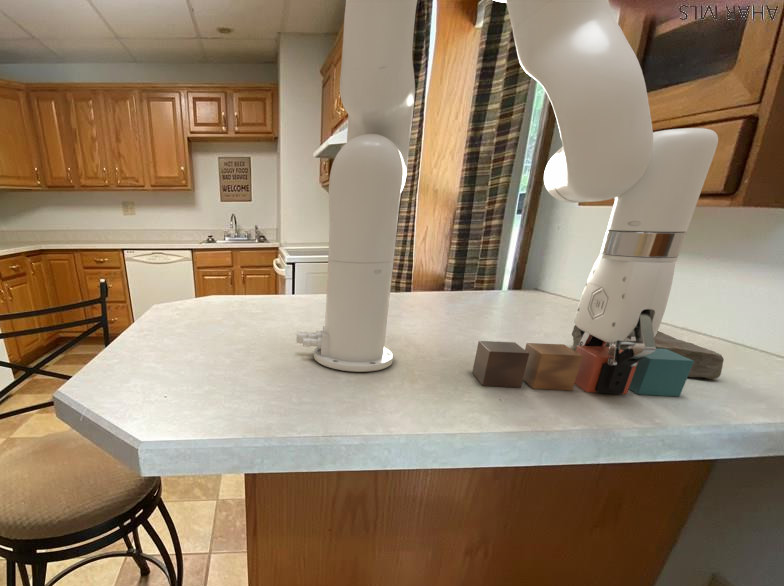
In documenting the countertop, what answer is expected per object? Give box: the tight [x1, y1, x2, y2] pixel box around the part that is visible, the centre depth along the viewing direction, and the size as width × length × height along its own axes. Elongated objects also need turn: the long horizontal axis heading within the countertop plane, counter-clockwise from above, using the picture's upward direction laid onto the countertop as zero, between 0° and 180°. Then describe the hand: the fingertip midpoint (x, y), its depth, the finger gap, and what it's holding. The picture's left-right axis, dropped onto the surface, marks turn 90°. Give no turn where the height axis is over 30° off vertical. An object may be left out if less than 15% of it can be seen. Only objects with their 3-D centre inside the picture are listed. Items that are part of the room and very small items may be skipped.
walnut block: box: [471, 340, 529, 389], centre depth 59 cm, size 5×5×5 cm
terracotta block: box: [574, 346, 638, 395], centre depth 58 cm, size 5×5×5 cm
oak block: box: [523, 342, 582, 391], centre depth 59 cm, size 5×5×5 cm
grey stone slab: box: [571, 324, 724, 380], centre depth 68 cm, size 17×15×4 cm
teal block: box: [626, 347, 694, 397], centre depth 57 cm, size 5×5×5 cm
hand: (596, 383), depth 59 cm, fingers closed on terracotta block, 5 cm apart
